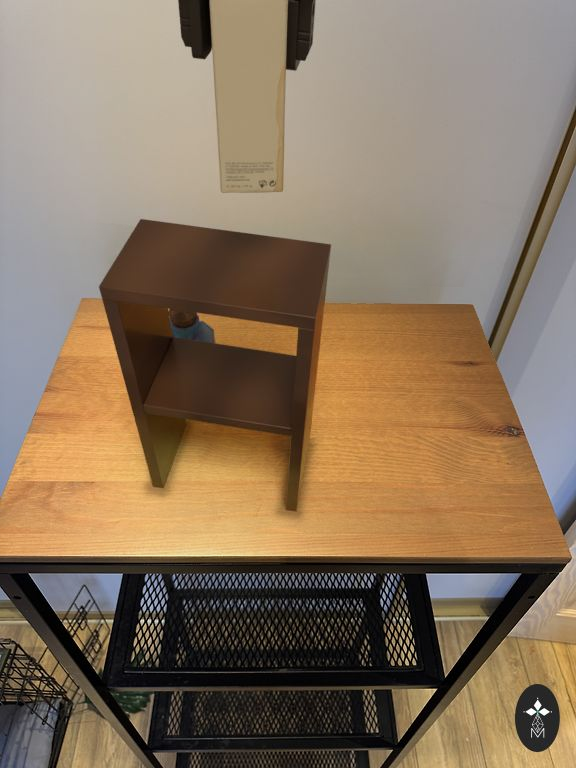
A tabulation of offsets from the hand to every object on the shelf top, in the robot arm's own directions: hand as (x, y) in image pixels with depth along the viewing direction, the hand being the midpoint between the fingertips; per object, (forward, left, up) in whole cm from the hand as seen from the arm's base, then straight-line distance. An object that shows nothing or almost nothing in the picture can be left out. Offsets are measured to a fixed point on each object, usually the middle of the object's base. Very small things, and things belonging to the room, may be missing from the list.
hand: (247, 58), depth 35 cm
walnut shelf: (+2, +2, -42) cm, 42 cm away
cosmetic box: (0, 0, -8) cm, 8 cm away
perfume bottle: (+10, -9, -42) cm, 44 cm away
